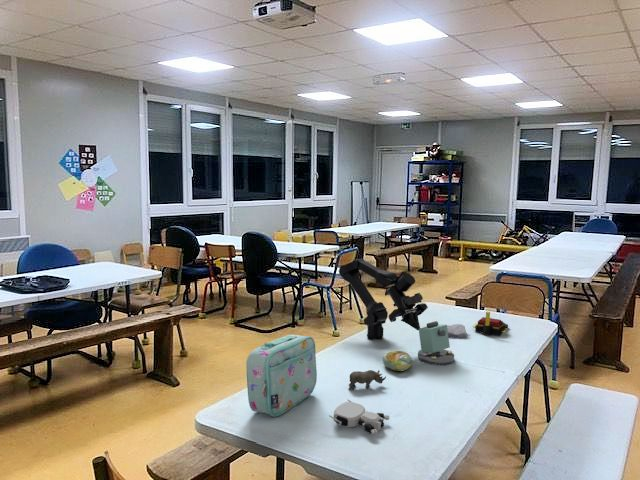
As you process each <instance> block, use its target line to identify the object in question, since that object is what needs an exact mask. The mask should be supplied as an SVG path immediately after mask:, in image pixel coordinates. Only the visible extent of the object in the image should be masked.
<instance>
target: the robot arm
mask: <svg viewBox="0 0 640 480" xmlns="http://www.w3.org/2000/svg"><path fill="white" fill-rule="evenodd" d="M360 271H361V272H363V273H365V274H366V275H368V276H369V277H371V278H373V279H374V280H375V282H376V283H377V284H378V285H379V286H380V287H382V288H386V289H385V292H384V296H385V297H386V296H390V298H391V299H392V302H393V304H392V306H393V307H394V308H395V307H396V309H393V310H392V311H391V313H389V314H388V311H387V308H386V306H385V305H384V303H383V302H382V301H380V302H377V301H376V300H375V298H374V297H373V295H372V294H371V293H370V291H369V290H368V288H367V287H366V285H365V283H364V281H362V279H361V278H360ZM338 274H339V275H340V277H341V278H342V279H343V280H344V281H345V282H347V283H349V284H350V285H351V287H352V288H353V290H354V291H355V293H356V294H357V296H358V298H359V299H360V300H361V302H362V303H363V305H364V307H365V309H366V311H365V312H366V316H365V318H364V319H363V323H364V325H366V327H367V329H366V331H367V333H366V338H367V340H383V338H384V326H383V324H386V323H387V319H388V320H389V322H390V323H394V322H396V321H397V318H399V317H401V320H400V322H404V323H405V324H407V325H409V326H410V327H412V328H413V329H415V330H417V331H419V329H420V328H421V326H420V321H419V316H420V315H422V314H423V313H424V312H426V310H427V309H428V308H429V307H428V306H427V303H424V302H422V301H423V299H424V298H423V295H422V294H421V293H420V292H417V293H414V295H411V296H410V295H406V292H408V291H409V290H410V288H412V286H414V284H415V283H416V280H415V279H416V278H415V277H414V276H413V275H411V274H410V273H408V272H407V271H406V270H403V271H402V272H401V273H400V274H399V275H397V274H396V273H394V272H393V271H389V270H384V269H381V268H379V267H378V266H375V265H373V264H371V263H370V262H368V261H366V260H365V259H364V258H356V259H353V260H352V261H351V262H348V263H346V264H342V265H340V266H339V269H338ZM387 287H389V288H387ZM416 304H417V305H416Z"/></svg>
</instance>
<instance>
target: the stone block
mask: <svg viewBox="0 0 640 480" xmlns="http://www.w3.org/2000/svg"><path fill="white" fill-rule="evenodd" d="M441 325H445V324H441ZM446 325H447V324H446ZM447 330H448V337H449V338H458V339H460V338H462V339H463V338H464V337H465V338H467V330H466V327H465V325H464V324H460V323H458V324H452V325H451V324H449V325H447Z"/></svg>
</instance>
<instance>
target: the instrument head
mask: <svg viewBox="0 0 640 480" xmlns="http://www.w3.org/2000/svg"><path fill="white" fill-rule="evenodd" d="M418 334H419V335H418V336H419V342H420V350H421V351H422V352H431V353H434V352H437V351H440V350H443V349H444V350H447V349H449V348H451V347H450V339H449V338H450V337H448V330H447V324H444V325H442V324H439V321H438V320H434V321H432V322H428V323H426V326H424V327H420V329H419V330H418Z"/></svg>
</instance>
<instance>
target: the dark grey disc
mask: <svg viewBox="0 0 640 480" xmlns="http://www.w3.org/2000/svg"><path fill="white" fill-rule="evenodd" d="M417 359H418V361H420V362H421V363H423V364H427V365H431V366H448V365H452V364H453V363H454V362H455V354H454V353H453V351H452V350H449V349H448V350H447V349H443V350H440V351H437V352H434V353H431V352H422V351H421V349H419V350H418V351H417Z"/></svg>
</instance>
